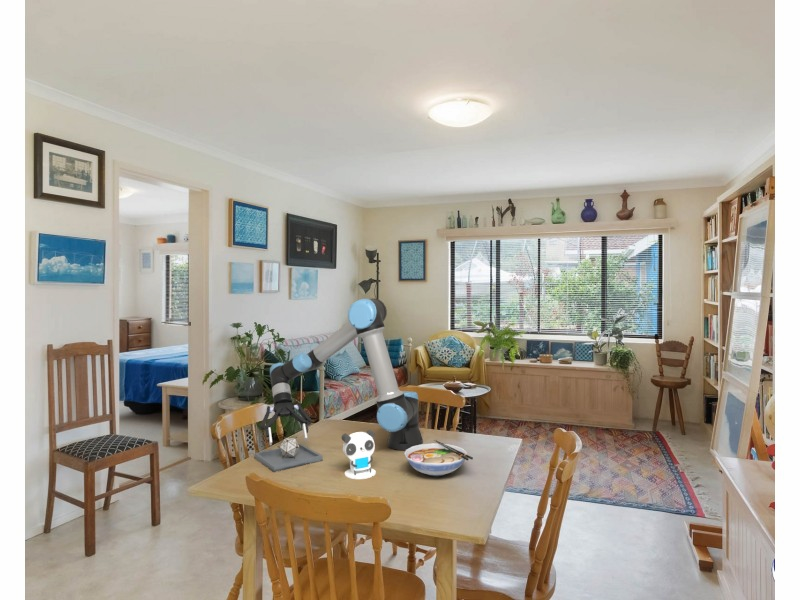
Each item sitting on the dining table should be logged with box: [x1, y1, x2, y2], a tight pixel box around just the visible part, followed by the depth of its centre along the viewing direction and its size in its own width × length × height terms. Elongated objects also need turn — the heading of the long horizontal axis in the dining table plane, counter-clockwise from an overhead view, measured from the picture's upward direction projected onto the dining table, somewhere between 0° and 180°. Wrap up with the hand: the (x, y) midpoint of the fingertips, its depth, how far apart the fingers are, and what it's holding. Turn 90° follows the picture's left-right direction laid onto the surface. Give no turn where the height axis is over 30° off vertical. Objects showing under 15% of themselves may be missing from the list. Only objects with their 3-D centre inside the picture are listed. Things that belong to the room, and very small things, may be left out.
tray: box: [253, 443, 323, 473], centre depth 200 cm, size 20×20×2 cm
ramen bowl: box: [403, 439, 474, 477], centre depth 183 cm, size 25×23×8 cm
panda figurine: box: [341, 429, 377, 480], centre depth 183 cm, size 12×11×15 cm
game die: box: [277, 436, 301, 458], centre depth 200 cm, size 9×8×10 cm
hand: (288, 441), depth 198 cm, fingers open, 13 cm apart
